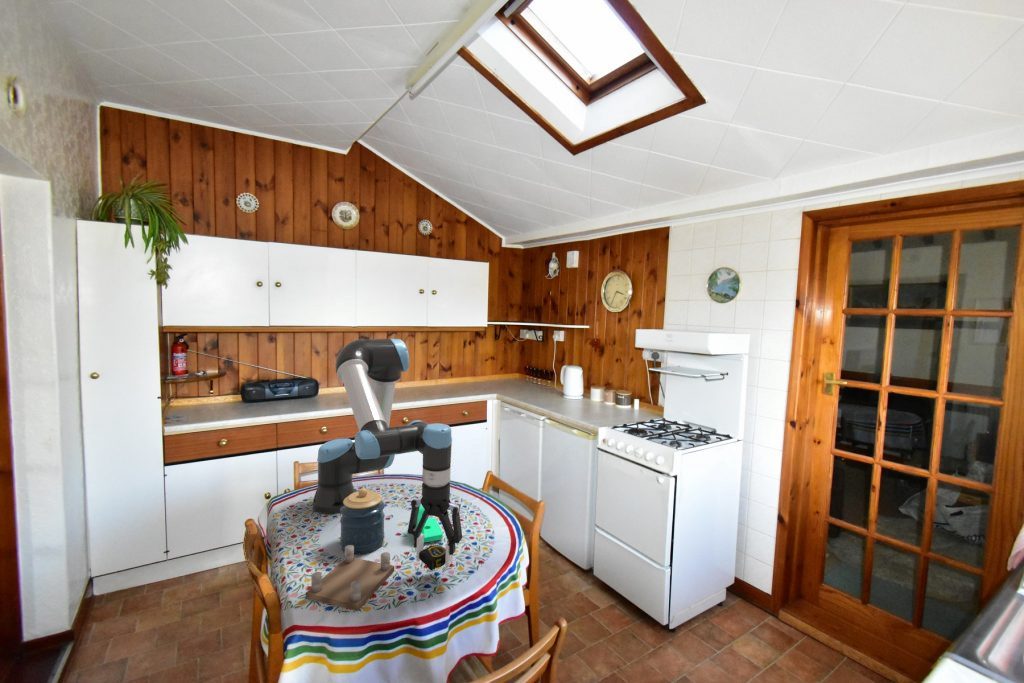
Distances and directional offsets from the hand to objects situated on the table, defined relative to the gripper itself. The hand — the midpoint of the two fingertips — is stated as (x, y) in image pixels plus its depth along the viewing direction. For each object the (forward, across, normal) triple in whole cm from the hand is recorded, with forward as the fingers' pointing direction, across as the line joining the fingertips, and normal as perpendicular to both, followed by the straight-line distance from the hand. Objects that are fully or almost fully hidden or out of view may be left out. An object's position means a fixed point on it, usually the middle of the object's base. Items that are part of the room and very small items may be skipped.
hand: (434, 561), depth 122 cm
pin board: (+4, -19, -10) cm, 22 cm away
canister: (+5, -28, +8) cm, 29 cm away
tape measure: (+1, 0, -1) cm, 1 cm away
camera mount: (+5, -11, +19) cm, 23 cm away
